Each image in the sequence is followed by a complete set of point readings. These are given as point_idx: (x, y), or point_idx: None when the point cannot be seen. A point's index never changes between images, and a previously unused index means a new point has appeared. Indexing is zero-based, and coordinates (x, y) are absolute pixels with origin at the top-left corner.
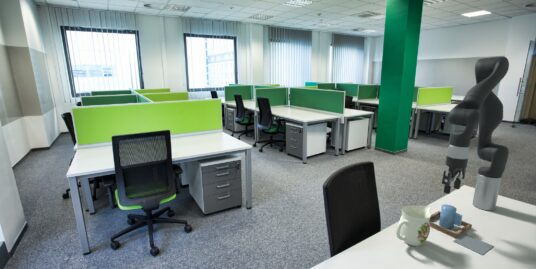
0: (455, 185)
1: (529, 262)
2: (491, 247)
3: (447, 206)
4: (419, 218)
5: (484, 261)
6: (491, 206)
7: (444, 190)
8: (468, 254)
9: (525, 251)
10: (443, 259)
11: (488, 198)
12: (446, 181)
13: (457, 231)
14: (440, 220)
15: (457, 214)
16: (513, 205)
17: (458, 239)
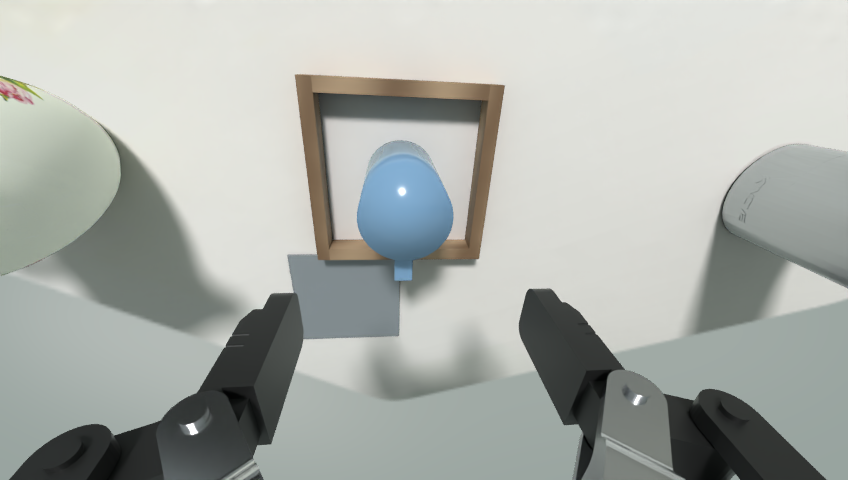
0: (541, 326)
1: (396, 399)
2: (380, 335)
3: (412, 206)
4: (28, 166)
5: None
6: (750, 240)
7: (239, 329)
8: None
9: (453, 379)
10: (122, 289)
11: (796, 250)
12: (207, 467)
13: (351, 251)
14: (372, 161)
15: (396, 262)
16: None
17: (320, 261)
